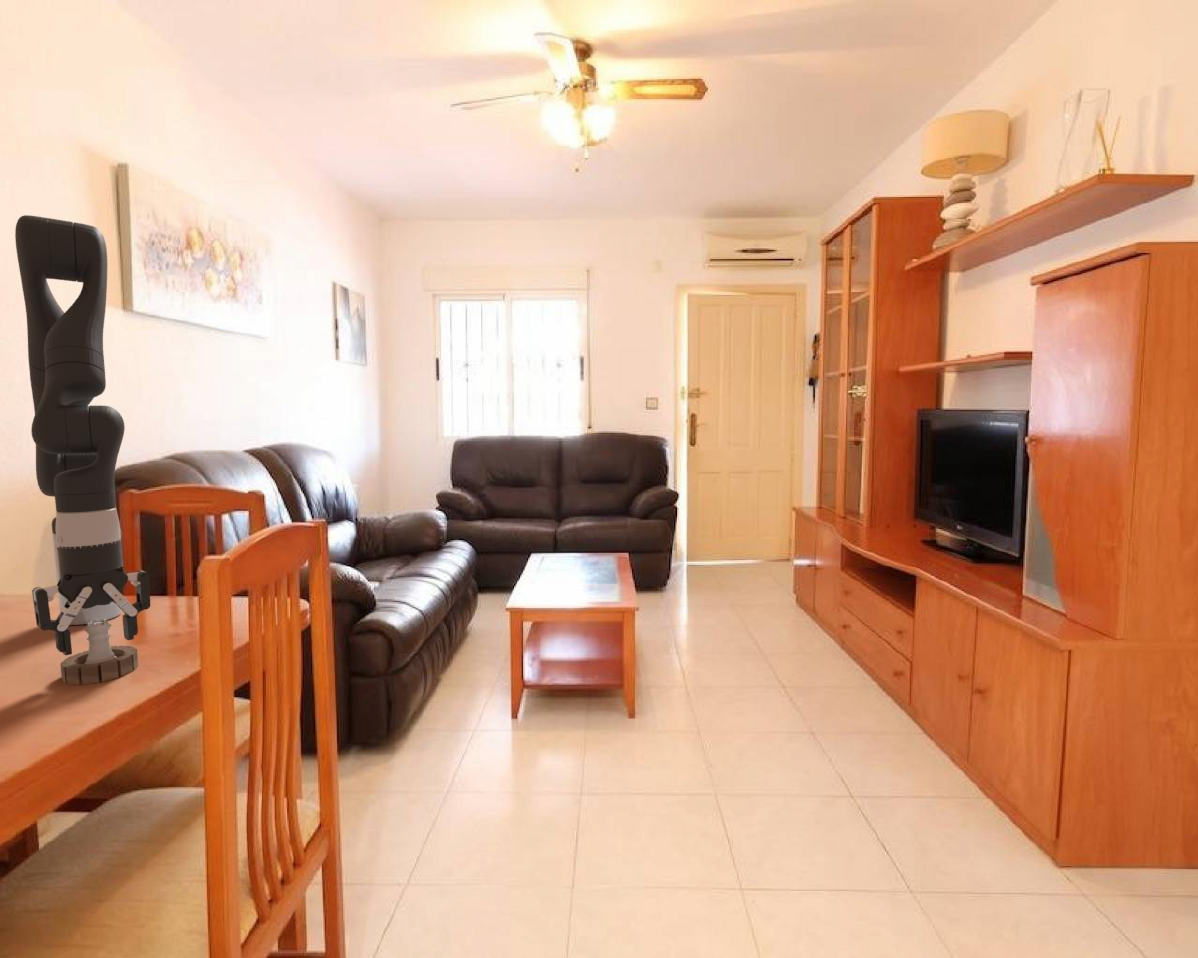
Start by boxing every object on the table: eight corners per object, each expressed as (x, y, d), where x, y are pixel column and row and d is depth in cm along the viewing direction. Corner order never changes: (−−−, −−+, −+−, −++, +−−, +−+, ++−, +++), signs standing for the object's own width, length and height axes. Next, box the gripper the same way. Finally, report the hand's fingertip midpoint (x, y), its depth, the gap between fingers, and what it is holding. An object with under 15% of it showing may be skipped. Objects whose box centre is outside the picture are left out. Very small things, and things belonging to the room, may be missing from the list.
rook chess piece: (99, 679, 95) (95, 626, 95) (75, 676, 96) (70, 625, 95) (127, 667, 100) (123, 617, 99) (103, 665, 101) (99, 615, 100)
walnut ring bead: (55, 674, 97) (54, 658, 97) (126, 656, 104) (125, 641, 104) (72, 689, 92) (70, 673, 91) (146, 669, 99) (144, 654, 98)
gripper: (137, 529, 104) (145, 628, 105) (20, 544, 92) (31, 654, 94) (154, 535, 99) (162, 638, 101) (32, 550, 88) (44, 666, 90)
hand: (98, 645), depth 97 cm, fingers open, 7 cm apart
